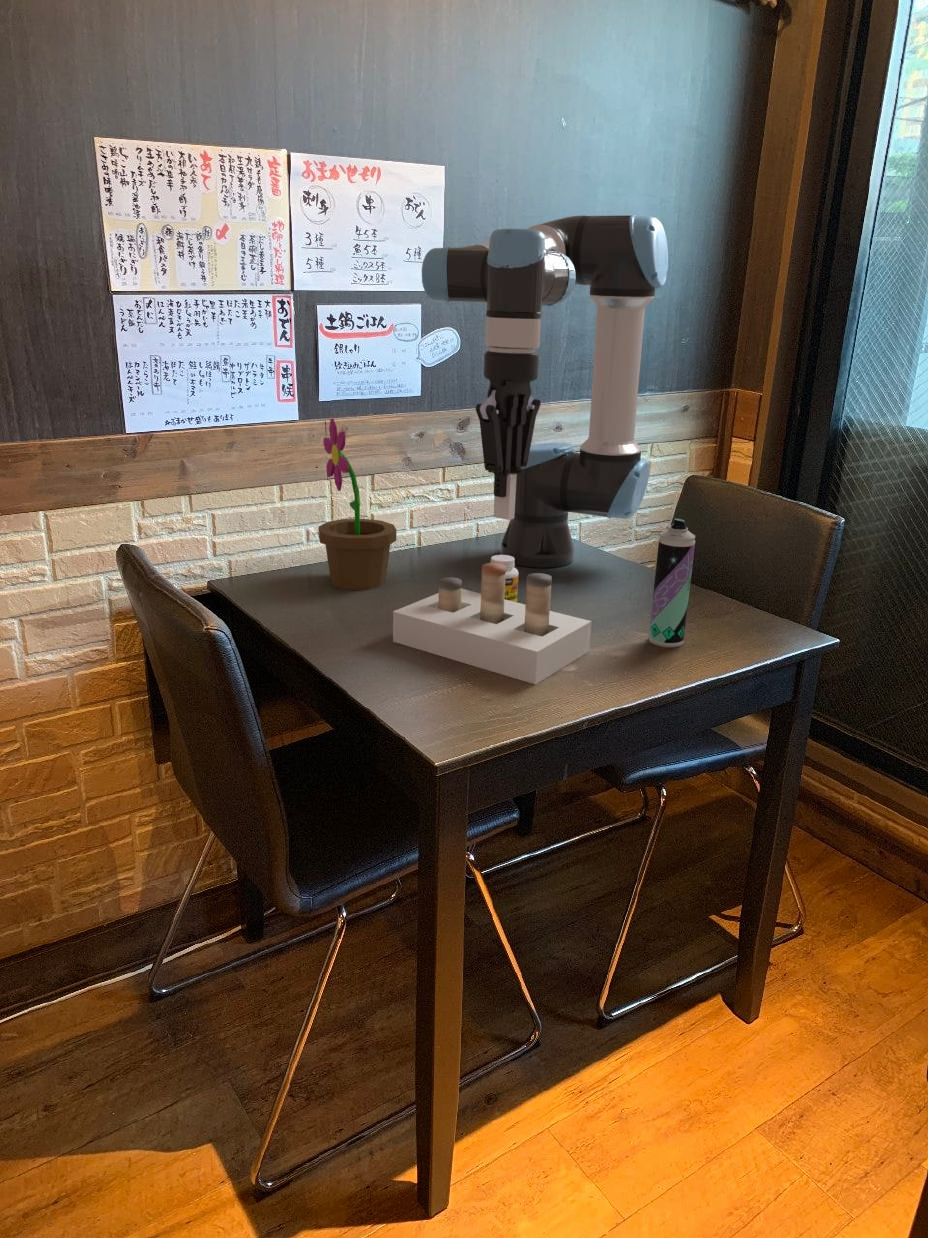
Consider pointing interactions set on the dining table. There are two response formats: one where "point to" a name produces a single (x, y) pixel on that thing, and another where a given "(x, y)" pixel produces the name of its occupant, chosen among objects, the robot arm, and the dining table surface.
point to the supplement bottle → (508, 576)
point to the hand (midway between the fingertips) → (503, 517)
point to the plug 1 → (450, 594)
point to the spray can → (672, 585)
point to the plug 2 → (492, 592)
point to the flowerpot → (353, 532)
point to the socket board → (492, 637)
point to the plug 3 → (537, 604)
